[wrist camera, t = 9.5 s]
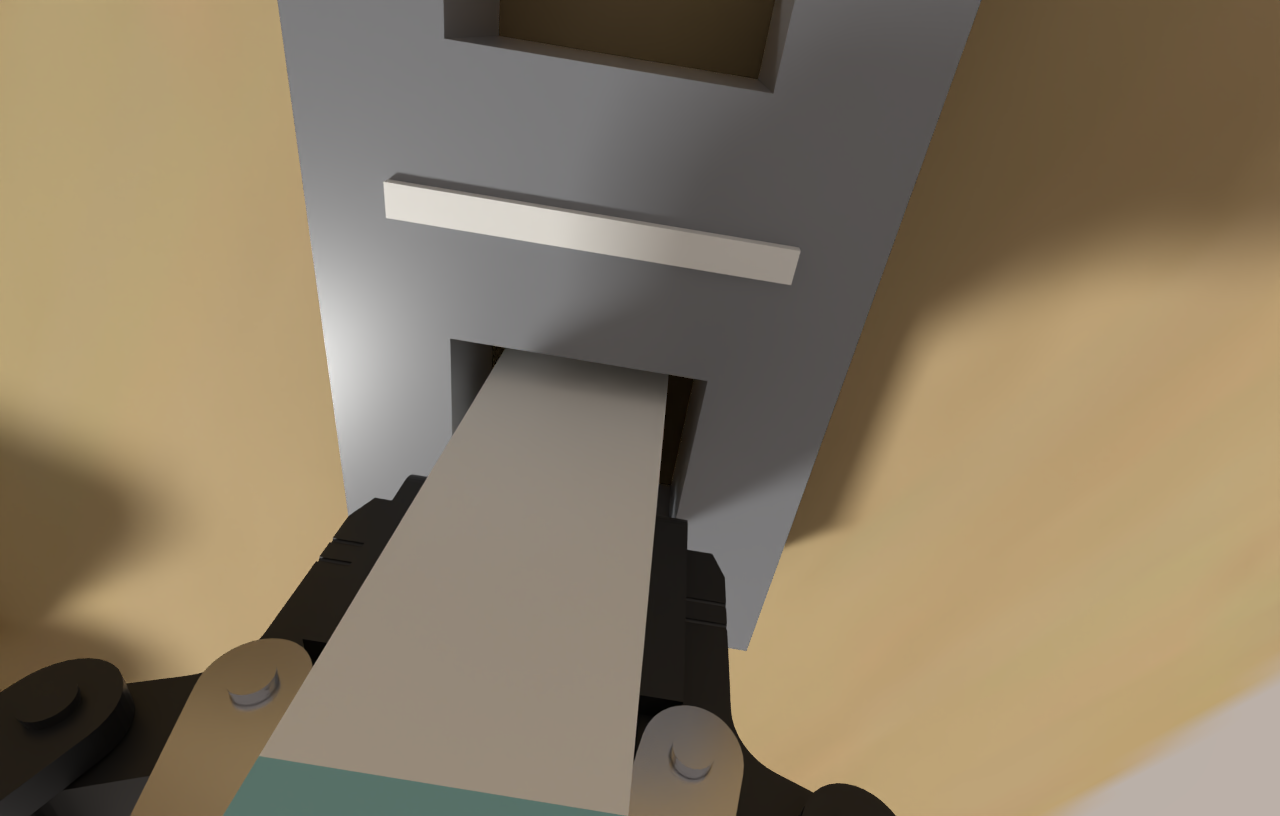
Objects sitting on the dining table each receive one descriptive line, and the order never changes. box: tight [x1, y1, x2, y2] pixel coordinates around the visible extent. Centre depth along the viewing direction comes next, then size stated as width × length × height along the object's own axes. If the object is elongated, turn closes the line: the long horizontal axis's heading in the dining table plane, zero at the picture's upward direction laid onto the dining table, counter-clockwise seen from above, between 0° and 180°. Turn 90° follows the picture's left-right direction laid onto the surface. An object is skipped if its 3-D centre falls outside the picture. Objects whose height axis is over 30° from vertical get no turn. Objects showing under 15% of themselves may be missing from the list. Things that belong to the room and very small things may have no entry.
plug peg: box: [223, 348, 669, 816], centre depth 10 cm, size 4×4×10 cm
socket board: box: [278, 0, 981, 651], centre depth 12 cm, size 20×10×3 cm, turn 172°
